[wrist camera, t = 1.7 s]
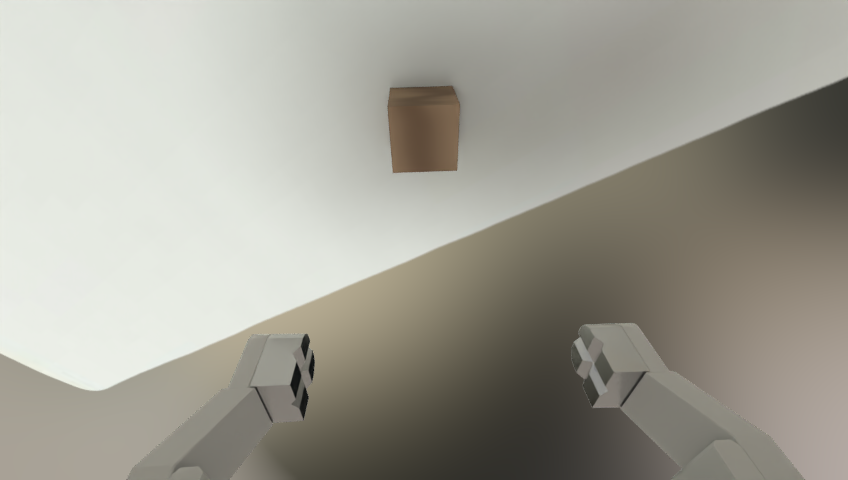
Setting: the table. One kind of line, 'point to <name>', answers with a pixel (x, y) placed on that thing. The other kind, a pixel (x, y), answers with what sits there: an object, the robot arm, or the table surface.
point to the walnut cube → (423, 128)
